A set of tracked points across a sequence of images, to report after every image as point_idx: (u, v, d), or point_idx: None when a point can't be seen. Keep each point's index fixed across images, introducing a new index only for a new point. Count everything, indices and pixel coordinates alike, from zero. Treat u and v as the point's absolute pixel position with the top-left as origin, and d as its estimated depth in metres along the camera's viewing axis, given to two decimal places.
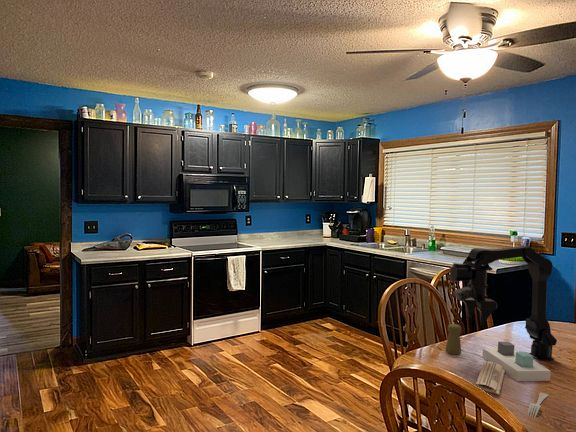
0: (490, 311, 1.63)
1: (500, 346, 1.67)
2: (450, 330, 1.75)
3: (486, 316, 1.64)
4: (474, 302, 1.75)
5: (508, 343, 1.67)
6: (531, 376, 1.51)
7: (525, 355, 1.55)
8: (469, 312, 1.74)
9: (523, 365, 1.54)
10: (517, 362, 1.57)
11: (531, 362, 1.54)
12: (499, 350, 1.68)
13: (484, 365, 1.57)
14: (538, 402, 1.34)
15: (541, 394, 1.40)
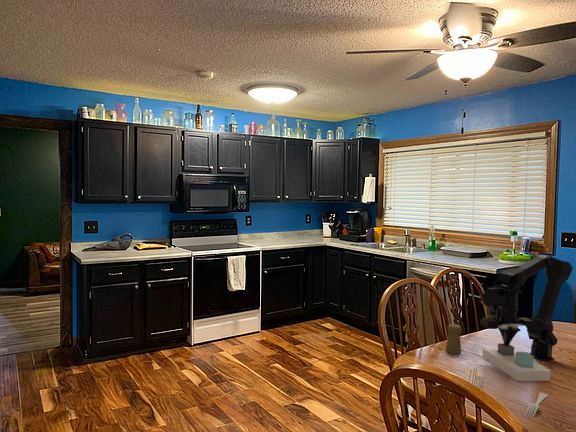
0: (504, 332, 1.65)
1: (500, 348, 1.67)
2: (450, 330, 1.75)
3: (504, 336, 1.66)
4: (511, 331, 1.65)
5: (508, 345, 1.67)
6: (531, 376, 1.51)
7: (525, 355, 1.55)
8: None
9: (523, 365, 1.54)
10: (517, 362, 1.57)
11: (531, 362, 1.54)
12: (499, 352, 1.68)
13: (465, 372, 1.55)
14: (537, 402, 1.34)
15: (541, 394, 1.40)
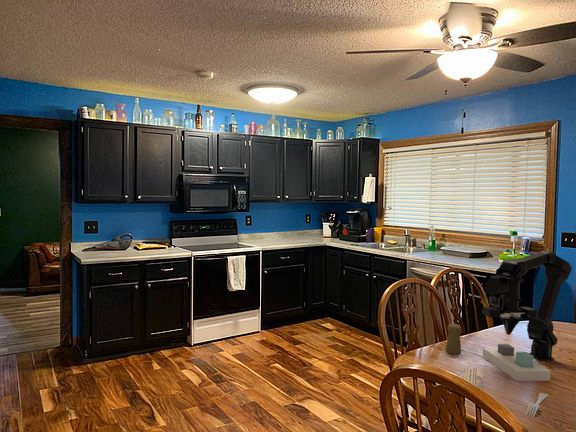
0: (506, 321, 1.63)
1: (500, 348, 1.67)
2: (450, 330, 1.75)
3: (506, 325, 1.64)
4: (513, 320, 1.64)
5: (508, 346, 1.67)
6: (531, 376, 1.51)
7: (525, 355, 1.55)
8: None
9: (523, 365, 1.54)
10: (517, 362, 1.57)
11: (531, 362, 1.54)
12: None
13: (465, 372, 1.55)
14: (537, 402, 1.34)
15: (541, 394, 1.40)
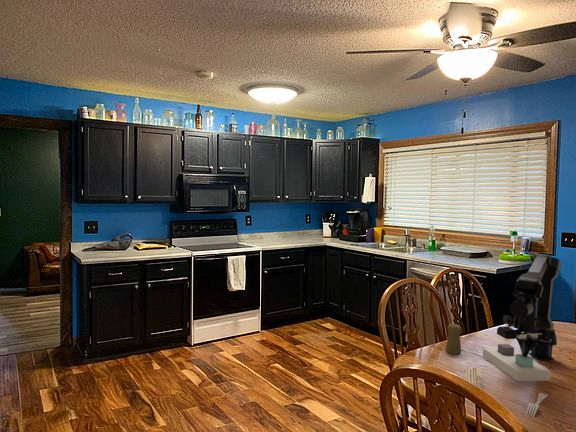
0: (523, 342, 1.54)
1: (500, 348, 1.67)
2: (450, 330, 1.75)
3: (523, 347, 1.55)
4: (530, 341, 1.54)
5: (508, 346, 1.67)
6: (531, 376, 1.51)
7: (525, 357, 1.55)
8: None
9: None
10: (517, 364, 1.57)
11: (531, 364, 1.54)
12: None
13: (465, 372, 1.55)
14: (537, 402, 1.34)
15: (541, 394, 1.40)
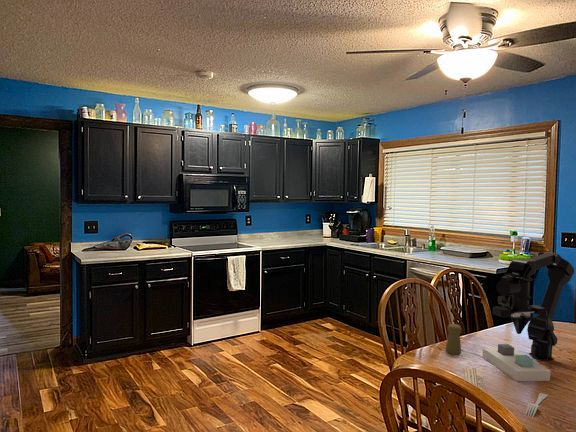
0: (517, 320, 1.63)
1: (500, 348, 1.67)
2: (450, 330, 1.75)
3: (517, 325, 1.64)
4: (523, 319, 1.64)
5: (508, 346, 1.67)
6: (531, 376, 1.51)
7: (525, 358, 1.55)
8: None
9: None
10: None
11: (531, 365, 1.54)
12: None
13: (465, 372, 1.55)
14: (537, 402, 1.34)
15: (541, 394, 1.40)
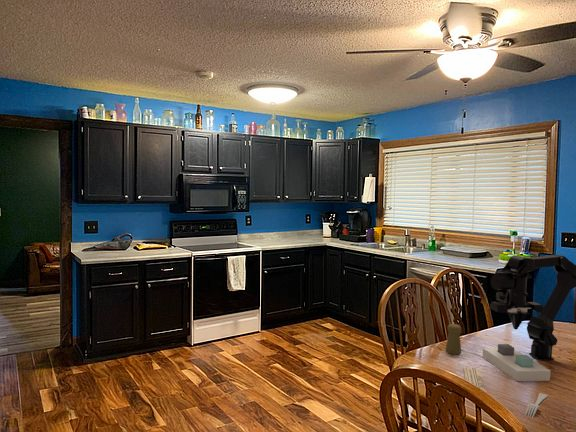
0: (514, 316, 1.67)
1: (500, 348, 1.67)
2: (450, 330, 1.75)
3: (513, 320, 1.68)
4: (520, 314, 1.68)
5: (508, 346, 1.67)
6: (531, 376, 1.51)
7: (525, 358, 1.55)
8: None
9: None
10: None
11: (531, 365, 1.54)
12: None
13: (465, 372, 1.55)
14: (537, 402, 1.34)
15: (540, 394, 1.40)
